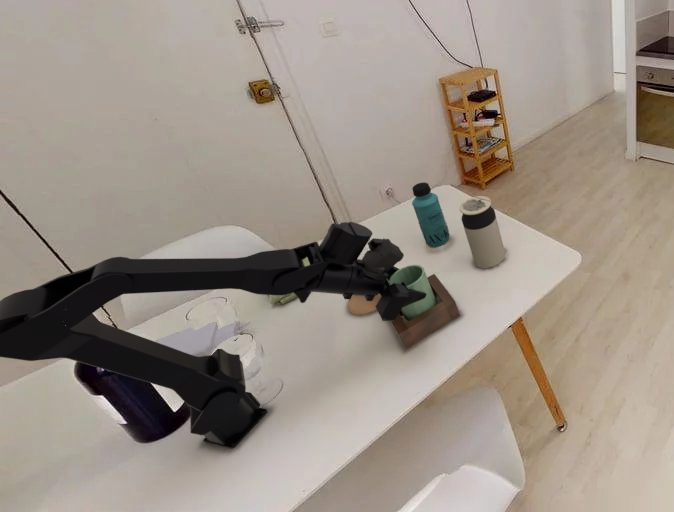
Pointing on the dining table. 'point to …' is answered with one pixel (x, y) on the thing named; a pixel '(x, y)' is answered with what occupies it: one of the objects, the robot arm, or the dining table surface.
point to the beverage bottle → (430, 216)
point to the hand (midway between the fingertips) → (419, 287)
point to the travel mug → (482, 231)
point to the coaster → (363, 305)
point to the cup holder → (427, 316)
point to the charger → (201, 338)
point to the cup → (415, 281)
